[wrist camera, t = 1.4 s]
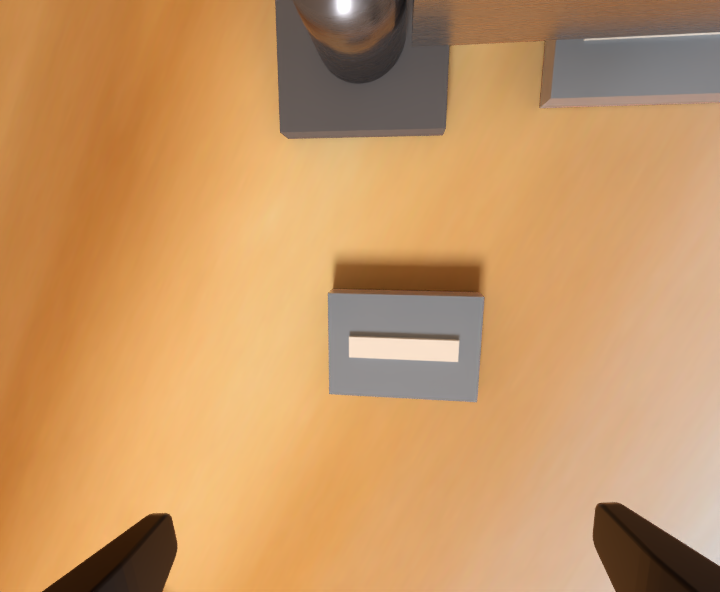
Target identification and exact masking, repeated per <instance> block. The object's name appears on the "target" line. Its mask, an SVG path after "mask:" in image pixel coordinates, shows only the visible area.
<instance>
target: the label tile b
mask: <svg viewBox="0 0 720 592" xmlns="http://www.w3.org/2000/svg"><path fill="white" fill-rule="evenodd" d="M692 103H720V32H713V33H693V34H672V35H652V36H631V37H611V38H590V39H569V40H549V41H545V52H544V63H543V74H542V85H541V96H540V107H539V108H557V107H591V106H625V105H658V104H692Z"/></svg>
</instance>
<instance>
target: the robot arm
mask: <svg viewBox="0 0 720 592" xmlns="http://www.w3.org/2000/svg"><path fill="white" fill-rule="evenodd" d="M593 541H594V545H595V548H596V550H597V553H598V555H599V557H600V559H601V561H602V563H603V565H604V568H605V570H606V572H607V574H608V576H609V578H610V581H611V583H612V585H613V587H614V589H615V591H616V592H720V566H719V565H717V564H715V563H714V562H712V561H711V560H709V559H708V558H706V557H704V556H703V555H701V554H700V553H698V552H697V551H695V550H693V549H692V548H690V547H689V546H687V545H686V544H684V543H682V542H681V541H679V540H678V539H676V538H674V537H673V536H671V535H670V534H668V533H667V532H665V531H663V530H662V529H660V528H659V527H657V526H656V525H654V524H652V523H651V522H649V521H648V520H646V519H644V518H643V517H641V516H640V515H638V514H637V513H635V512H633V511H632V510H630V509H629V508H627V507H626V506H624V505H622V504H620V503H616V502H612V503H599V504H597V506H596V509H595V517H594V527H593ZM176 553H177V539H176V535H175V530H174V526H173V521H172V517H171V516H170V515H169V514H167V513H153V514H149V515H148V516H146V517H145V518H143V519H142V520H140V521H139V522H138V523H136V524H135V525H134V526H132V527H131V528H129V529H128V530H127V531H125V532H124V533H122V534H121V535H120V536H118V537H117V538H116V539H114V540H113V541H111V542H110V543H109V544H107V545H106V546H104V547H103V548H102V549H100V550H99V551H98V552H96V553H95V554H93V555H92V556H91V557H89V558H88V559H86V560H85V561H84V562H82V563H81V564H80V565H78V566H77V567H75V568H74V569H73V570H71V571H70V572H69V573H67V574H66V575H64V576H63V577H62V578H60V579H59V580H57V581H56V582H55V583H53V584H52V585H51V586H49V587H48V588H46V589H45V590H44V591H42V592H162V591H163V589H164V586H165V583H166V581H167V578H168V575H169V573H170V570H171V567H172V565H173V562H174V559H175V556H176Z"/></svg>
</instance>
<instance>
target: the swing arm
mask: <svg viewBox="0 0 720 592" xmlns="http://www.w3.org/2000/svg"><path fill="white" fill-rule="evenodd" d="M293 3H294V5H295V7H296V9H297V11H298V13H299V15H300V17H301V19H302V21H303V23H304V25H305V27H306V29H307V31H308V33H309V35H310V37H311V39H312V41H313V43H314V46H315V48H316V50H317V52H318V54H319V56H320V58H321V60H322V62H323V63H324V65H325V66H326V68H327V69H328V70H329V71H330V72H331V73H332V74H333V75H335V76H336V77H338V78H339V79H341V80H343V81H346V82H349V83H358V84H361V83H368V82H372V81H374V80H377V79H379V78H380V77H382V76H383V75H385V74H386V73H387V72H388V71H389V70H390V69H391V68H392V67H393V66H394V65H395V64H396V62H397V61H398V59H399V57H400V55H401V53H402V51H403V48H404V44H405V40H406V25H407V0H293ZM713 32H720V0H413V14H412V47H425V46H446V45H466V44H487V43H508V42H528V41H549V40H569V39H590V38H611V37H631V36H652V35H672V34H693V33H713Z"/></svg>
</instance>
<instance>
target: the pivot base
mask: <svg viewBox="0 0 720 592" xmlns="http://www.w3.org/2000/svg"><path fill="white" fill-rule="evenodd" d="M275 4H276V31H277V59H278V87H279V115H280V133H282V134H283V135H284V136H286V137H287V138H288V139H298V138H343V137H387V136H431V135H443V133H444V131H445V129H446V110H447V88H448V66H449V45H446V46H425V47H412V14H413V0H407V25H406V40H405V44H404V48H403V51H402V53H401V55H400V57H399V59H398V61H397V62H396V64H395V65H394V66H393V67H392V68H391V69H390V70H389V71H388V72H387V73H386V74H385V75H383V76H382V77H380V78H379V79H377V80H374V81H372V82H368V83H361V84H358V83H349V82H346V81H343V80H341V79H339V78H338V77H336V76H335V75H333V74H332V73H331V72H330V71H329V70H328V69H327V68H326V66H325V65H324V63H323V62H322V60H321V58H320V56H319V54H318V52H317V50H316V48H315V46H314V43H313V41H312V39H311V37H310V35H309V33H308V31H307V29H306V27H305V25H304V23H303V21H302V19H301V17H300V15H299V13H298V11H297V9H296V7H295V5H294V3H293V0H275Z"/></svg>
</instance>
